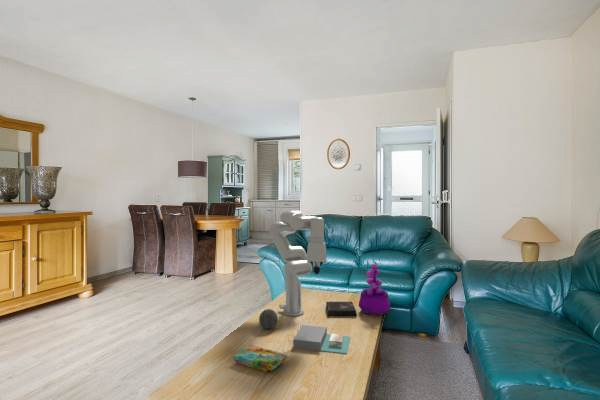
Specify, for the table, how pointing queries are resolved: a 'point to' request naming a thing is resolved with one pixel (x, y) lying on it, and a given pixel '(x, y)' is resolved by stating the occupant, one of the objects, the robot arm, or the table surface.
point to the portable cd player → (341, 309)
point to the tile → (336, 340)
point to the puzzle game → (259, 358)
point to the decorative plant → (374, 295)
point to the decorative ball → (268, 319)
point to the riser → (310, 337)
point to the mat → (332, 348)
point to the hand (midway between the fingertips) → (316, 273)
